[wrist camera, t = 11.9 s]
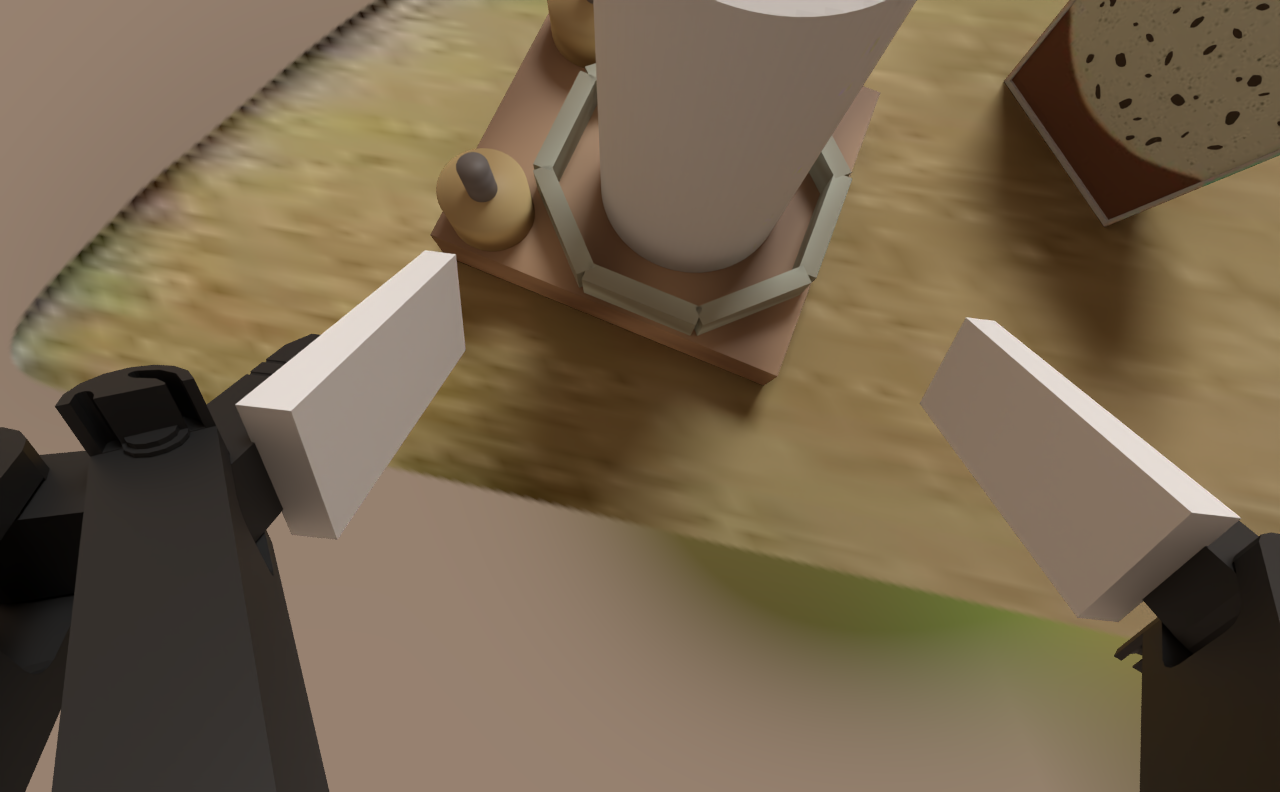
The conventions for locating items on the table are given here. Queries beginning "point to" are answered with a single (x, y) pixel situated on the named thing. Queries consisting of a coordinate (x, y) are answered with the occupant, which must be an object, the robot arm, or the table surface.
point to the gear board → (588, 244)
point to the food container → (1154, 95)
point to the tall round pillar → (722, 113)
